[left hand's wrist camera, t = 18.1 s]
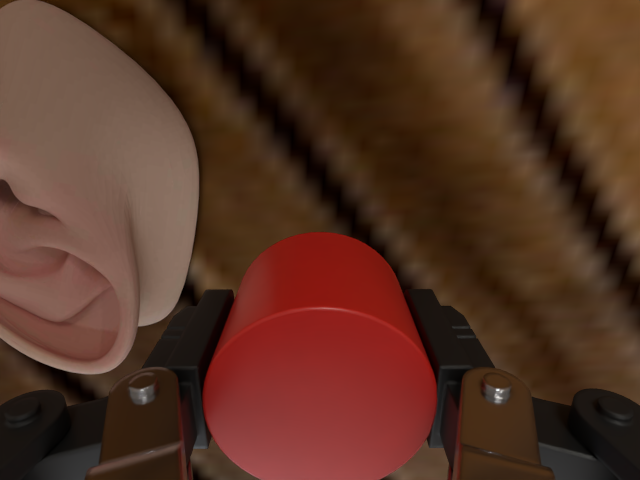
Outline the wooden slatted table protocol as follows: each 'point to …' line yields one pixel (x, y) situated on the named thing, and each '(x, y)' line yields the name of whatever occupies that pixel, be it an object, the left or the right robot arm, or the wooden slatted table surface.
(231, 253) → the wooden slatted table surface
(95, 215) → the anatomical model
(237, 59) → the wooden slatted table surface
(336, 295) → the tin
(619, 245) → the wooden slatted table surface
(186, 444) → the left robot arm
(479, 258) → the wooden slatted table surface
